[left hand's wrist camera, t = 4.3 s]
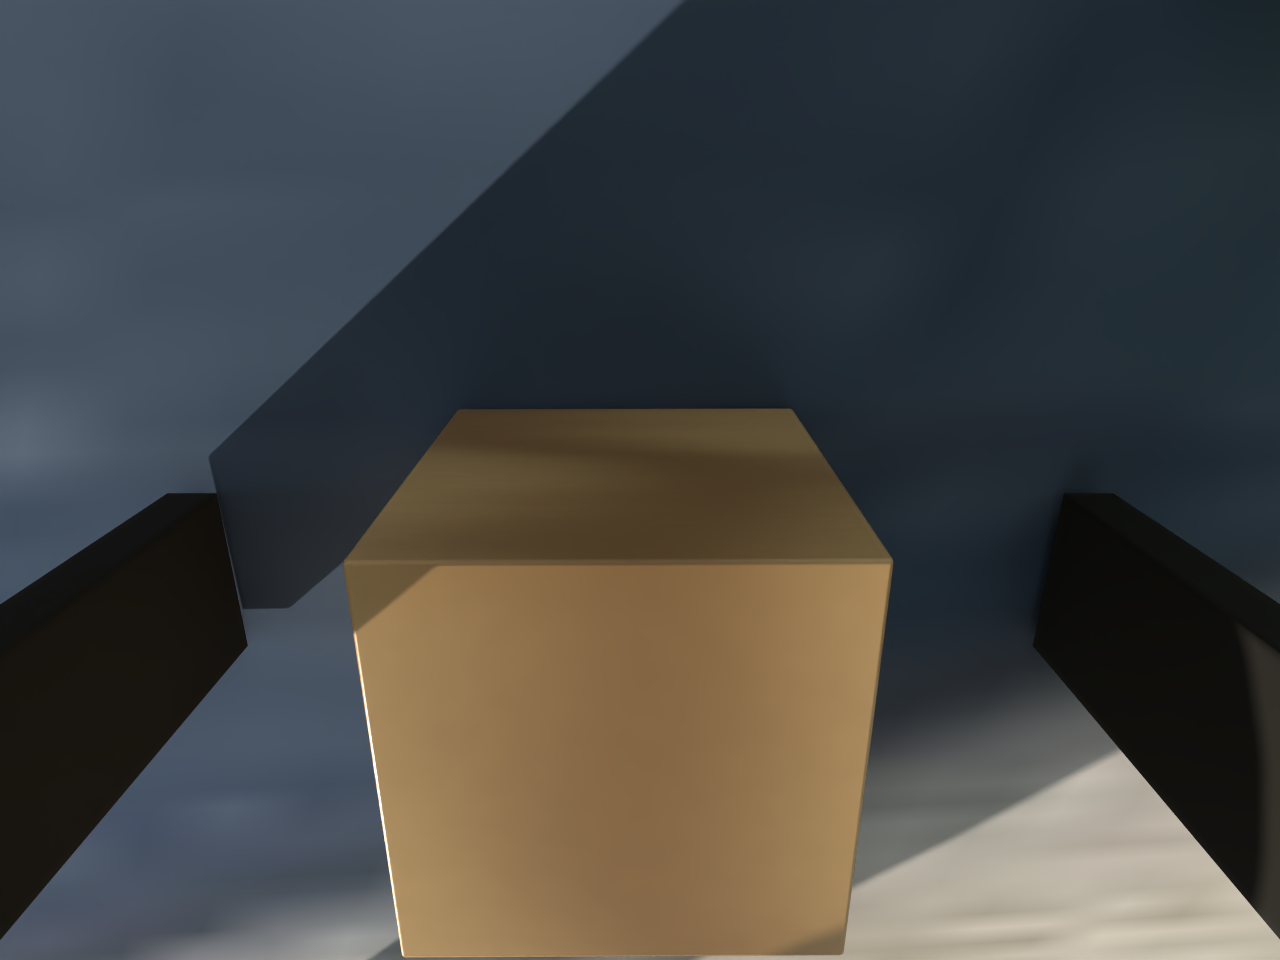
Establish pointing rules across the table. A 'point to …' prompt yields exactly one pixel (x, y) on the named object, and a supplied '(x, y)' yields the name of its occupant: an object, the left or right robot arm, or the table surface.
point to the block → (620, 684)
